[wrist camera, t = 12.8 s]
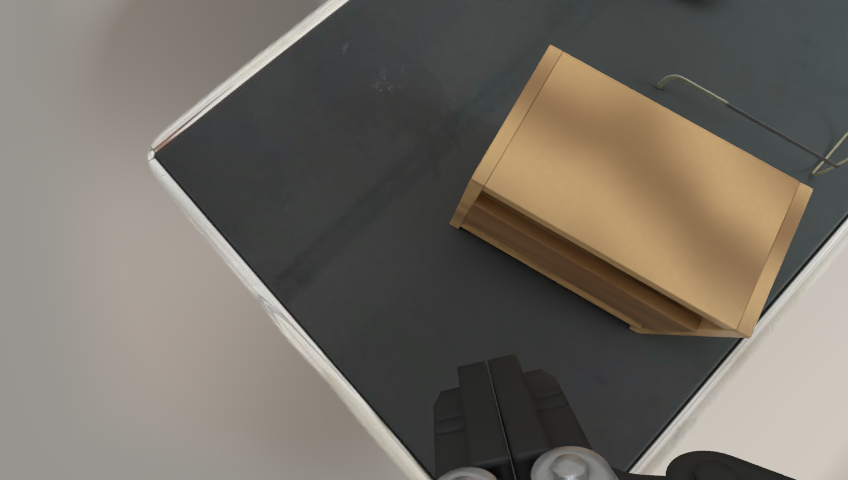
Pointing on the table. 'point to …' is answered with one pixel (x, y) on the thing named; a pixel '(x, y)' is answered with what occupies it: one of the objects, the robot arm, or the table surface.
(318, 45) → the table surface
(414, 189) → the table surface
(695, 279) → the wooden drawer chest
